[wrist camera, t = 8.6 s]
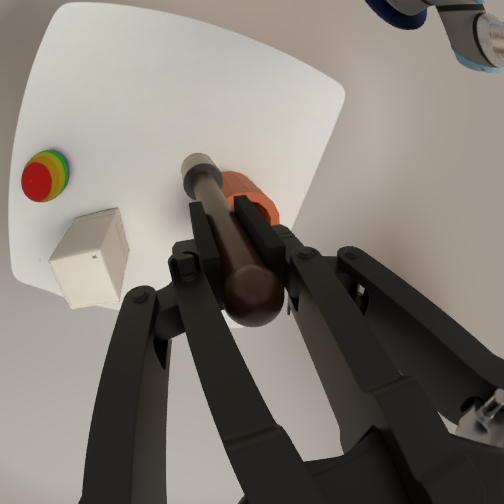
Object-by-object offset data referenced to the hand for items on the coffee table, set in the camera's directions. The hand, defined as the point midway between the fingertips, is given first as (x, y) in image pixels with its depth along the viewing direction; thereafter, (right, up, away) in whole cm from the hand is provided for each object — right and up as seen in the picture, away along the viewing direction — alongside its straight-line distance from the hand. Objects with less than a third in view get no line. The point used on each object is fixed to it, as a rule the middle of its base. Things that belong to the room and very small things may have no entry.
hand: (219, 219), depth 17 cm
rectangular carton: (-25, +1, +28) cm, 38 cm away
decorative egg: (-32, +12, +20) cm, 39 cm away
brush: (-4, +7, +12) cm, 14 cm away
